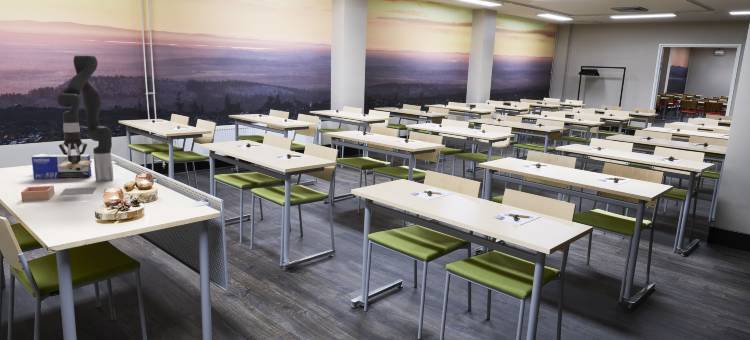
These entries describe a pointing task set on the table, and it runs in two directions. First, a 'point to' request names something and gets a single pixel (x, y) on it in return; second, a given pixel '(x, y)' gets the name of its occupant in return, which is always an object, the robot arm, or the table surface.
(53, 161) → the ink box
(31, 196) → the dish
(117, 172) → the table surface
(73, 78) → the robot arm
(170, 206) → the table surface
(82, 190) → the mat
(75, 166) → the lid
